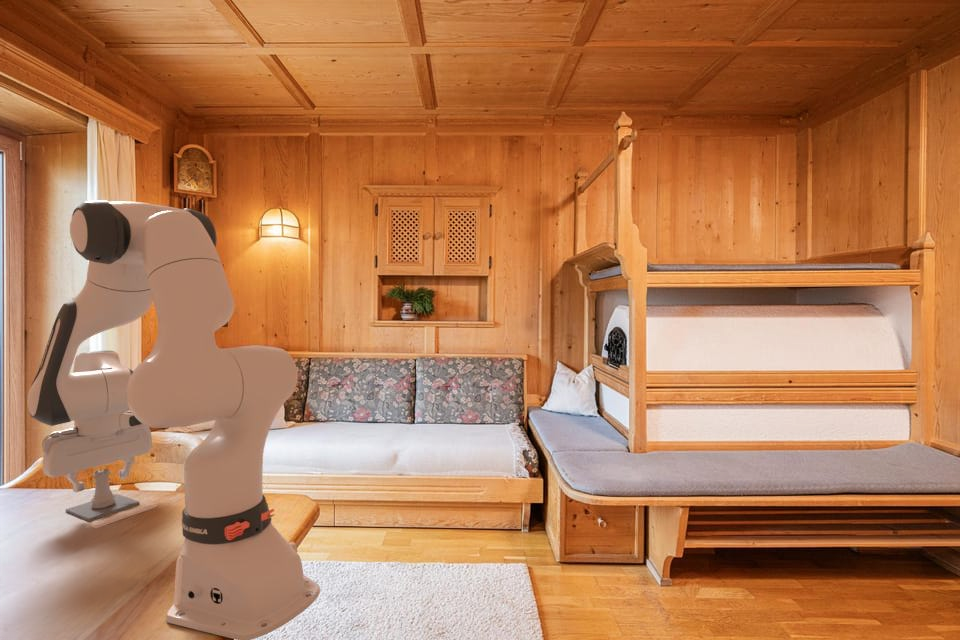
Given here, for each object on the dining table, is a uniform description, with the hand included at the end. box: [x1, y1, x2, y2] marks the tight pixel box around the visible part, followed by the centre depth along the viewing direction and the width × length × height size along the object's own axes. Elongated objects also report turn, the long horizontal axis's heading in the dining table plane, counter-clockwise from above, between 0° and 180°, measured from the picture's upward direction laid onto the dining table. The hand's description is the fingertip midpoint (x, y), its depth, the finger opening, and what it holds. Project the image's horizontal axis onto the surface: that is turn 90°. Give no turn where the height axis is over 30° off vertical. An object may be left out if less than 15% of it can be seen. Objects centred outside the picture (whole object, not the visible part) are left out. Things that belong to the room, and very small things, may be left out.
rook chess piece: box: [90, 467, 115, 509], centre depth 113 cm, size 4×4×8 cm
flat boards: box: [65, 493, 157, 529], centre depth 112 cm, size 15×12×1 cm
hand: (102, 484), depth 113 cm, fingers open, 8 cm apart
